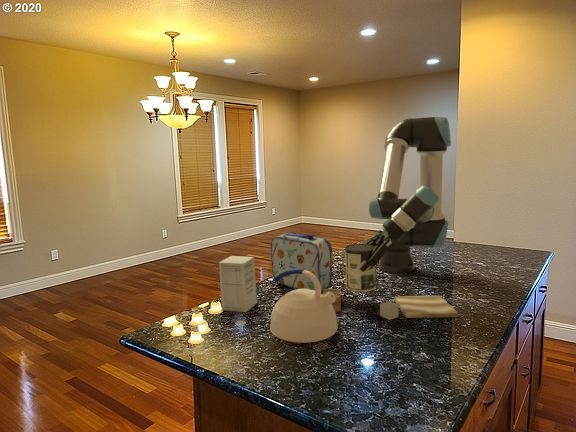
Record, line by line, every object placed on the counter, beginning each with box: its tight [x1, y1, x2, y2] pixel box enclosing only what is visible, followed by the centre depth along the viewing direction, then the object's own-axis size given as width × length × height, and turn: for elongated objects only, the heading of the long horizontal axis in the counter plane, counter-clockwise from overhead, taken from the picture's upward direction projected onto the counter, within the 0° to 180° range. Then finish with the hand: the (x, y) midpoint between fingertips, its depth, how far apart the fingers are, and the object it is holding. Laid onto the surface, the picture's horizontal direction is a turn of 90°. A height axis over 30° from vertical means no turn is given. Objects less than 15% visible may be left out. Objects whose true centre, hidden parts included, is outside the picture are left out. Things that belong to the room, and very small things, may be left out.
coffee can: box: [344, 243, 377, 293], centre depth 138 cm, size 10×10×14 cm
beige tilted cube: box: [379, 300, 400, 321], centre depth 128 cm, size 4×4×4 cm
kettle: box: [269, 269, 339, 344], centre depth 120 cm, size 20×21×18 cm
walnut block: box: [321, 292, 342, 313], centre depth 135 cm, size 5×5×5 cm
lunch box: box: [270, 231, 336, 291], centre depth 156 cm, size 28×10×22 cm, turn 47°
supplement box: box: [218, 255, 258, 313], centre depth 139 cm, size 10×9×17 cm
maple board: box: [394, 295, 459, 319], centre depth 134 cm, size 16×16×1 cm
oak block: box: [322, 288, 342, 297], centre depth 142 cm, size 5×6×4 cm
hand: (351, 271), depth 138 cm, fingers closed on coffee can, 10 cm apart
